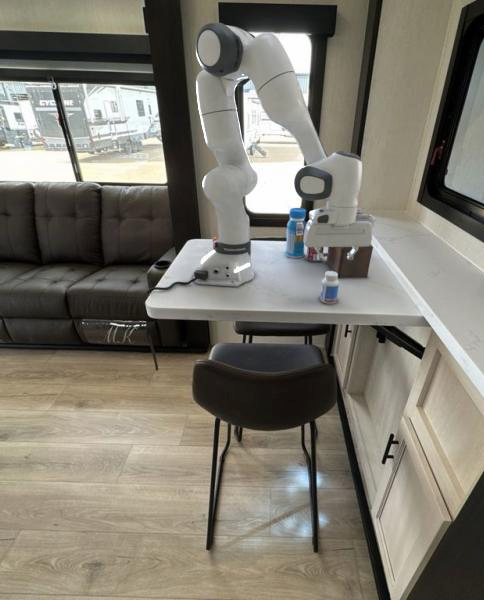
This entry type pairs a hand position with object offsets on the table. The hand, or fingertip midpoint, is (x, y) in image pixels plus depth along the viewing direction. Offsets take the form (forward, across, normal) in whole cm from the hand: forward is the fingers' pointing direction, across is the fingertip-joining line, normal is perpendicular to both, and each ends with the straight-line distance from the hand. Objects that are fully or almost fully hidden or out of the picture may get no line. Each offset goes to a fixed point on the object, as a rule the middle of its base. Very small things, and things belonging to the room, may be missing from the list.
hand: (334, 259), depth 94 cm
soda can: (+15, -2, -35) cm, 38 cm away
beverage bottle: (+14, +6, -40) cm, 43 cm away
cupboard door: (+14, -5, -24) cm, 29 cm away
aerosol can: (+15, -22, -42) cm, 50 cm away
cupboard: (+15, -14, -24) cm, 31 cm away
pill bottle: (+15, 0, 0) cm, 15 cm away
